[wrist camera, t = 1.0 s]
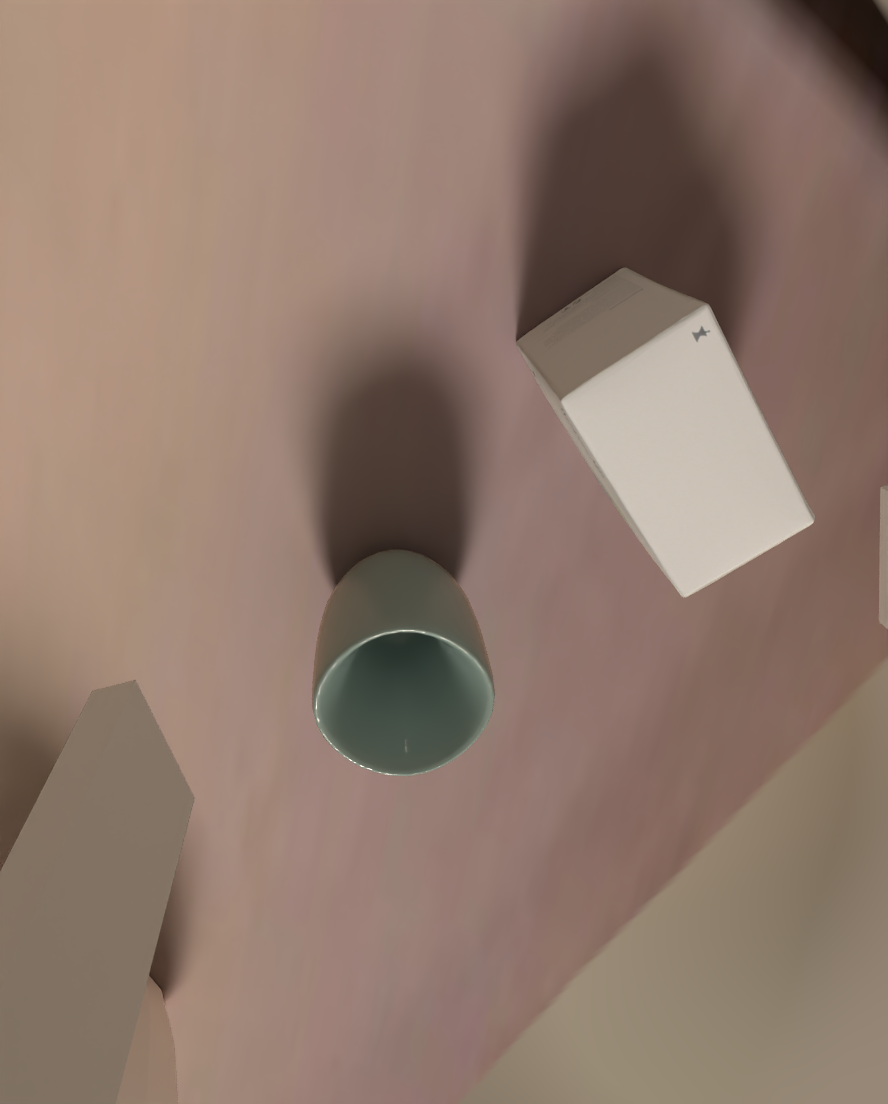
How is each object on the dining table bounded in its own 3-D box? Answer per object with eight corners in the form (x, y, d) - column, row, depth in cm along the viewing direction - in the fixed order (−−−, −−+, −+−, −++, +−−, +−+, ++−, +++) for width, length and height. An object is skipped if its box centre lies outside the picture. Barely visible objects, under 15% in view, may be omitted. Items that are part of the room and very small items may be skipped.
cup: (389, 500, 41) (397, 592, 32) (496, 588, 43) (531, 695, 34) (292, 602, 42) (274, 716, 33) (400, 680, 45) (410, 804, 36)
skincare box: (507, 345, 38) (555, 401, 28) (623, 264, 37) (715, 293, 27) (611, 509, 42) (683, 605, 33) (718, 440, 41) (825, 519, 31)
